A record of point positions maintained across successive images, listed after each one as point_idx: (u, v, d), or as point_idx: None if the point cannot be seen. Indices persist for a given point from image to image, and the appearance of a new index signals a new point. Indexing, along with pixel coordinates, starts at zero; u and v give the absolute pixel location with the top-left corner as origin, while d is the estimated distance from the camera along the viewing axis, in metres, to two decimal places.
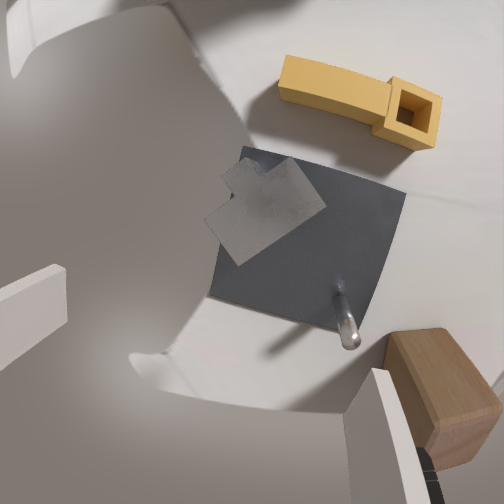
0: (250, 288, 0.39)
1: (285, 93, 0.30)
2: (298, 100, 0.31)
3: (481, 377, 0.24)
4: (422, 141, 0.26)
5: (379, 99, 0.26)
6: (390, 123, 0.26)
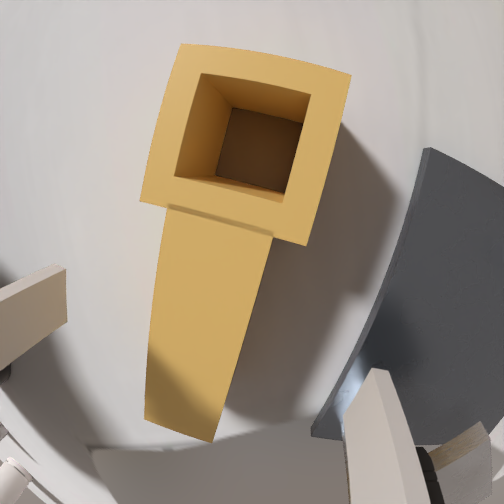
0: (498, 404, 0.16)
1: None
2: None
3: None
4: (338, 114, 0.09)
5: (219, 251, 0.11)
6: (293, 222, 0.10)
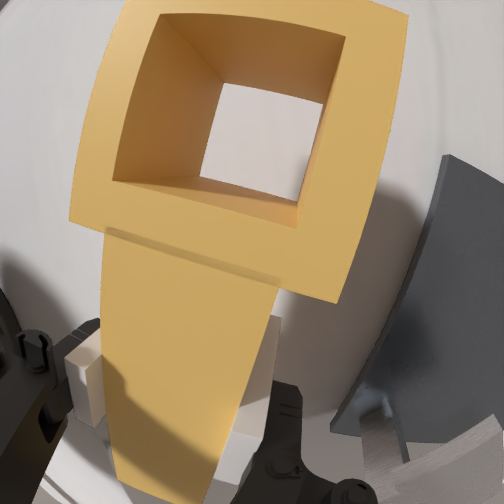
0: None
1: None
2: None
3: None
4: (395, 72, 0.04)
5: (186, 307, 0.06)
6: (315, 263, 0.06)
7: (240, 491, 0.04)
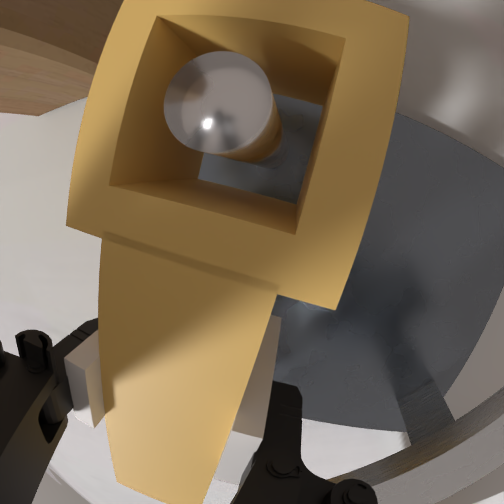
0: (472, 196, 0.13)
1: None
2: None
3: None
4: (396, 74, 0.04)
5: (184, 312, 0.06)
6: (314, 270, 0.05)
7: (240, 491, 0.04)
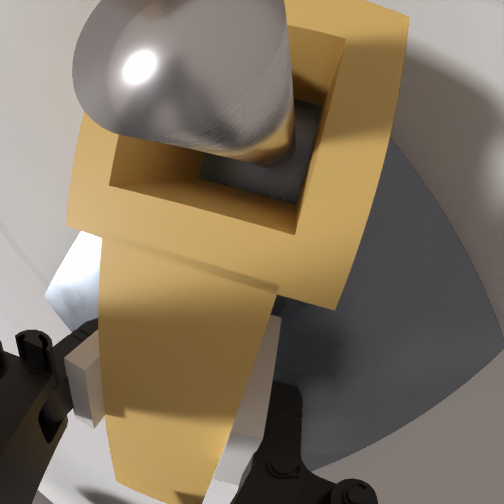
0: (447, 322, 0.12)
1: None
2: None
3: None
4: (395, 75, 0.04)
5: (184, 312, 0.06)
6: (314, 270, 0.05)
7: (240, 491, 0.04)
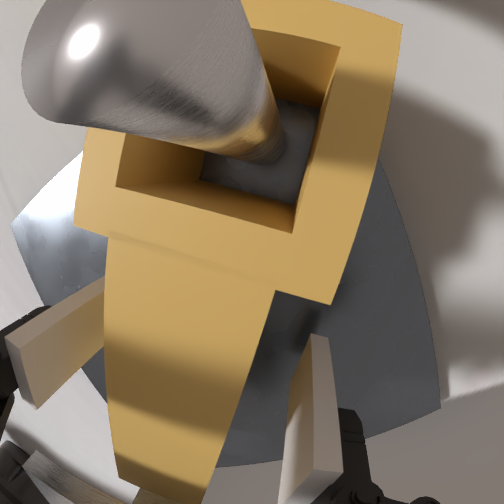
0: (386, 367, 0.13)
1: None
2: None
3: None
4: (388, 81, 0.05)
5: (187, 308, 0.06)
6: (310, 267, 0.06)
7: None
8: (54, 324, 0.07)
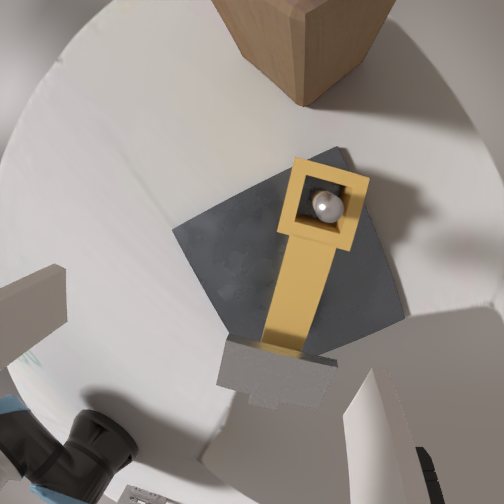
0: (373, 291, 0.31)
1: None
2: None
3: None
4: (363, 196, 0.23)
5: (313, 254, 0.25)
6: (344, 242, 0.24)
7: None
8: None
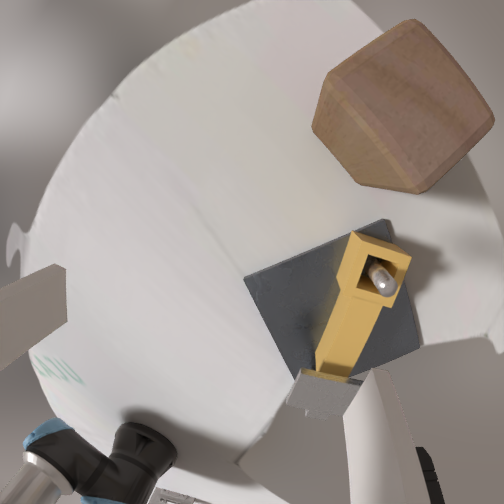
0: (398, 328, 0.38)
1: None
2: None
3: (321, 107, 0.21)
4: (405, 270, 0.30)
5: (366, 310, 0.32)
6: (388, 301, 0.31)
7: None
8: None
